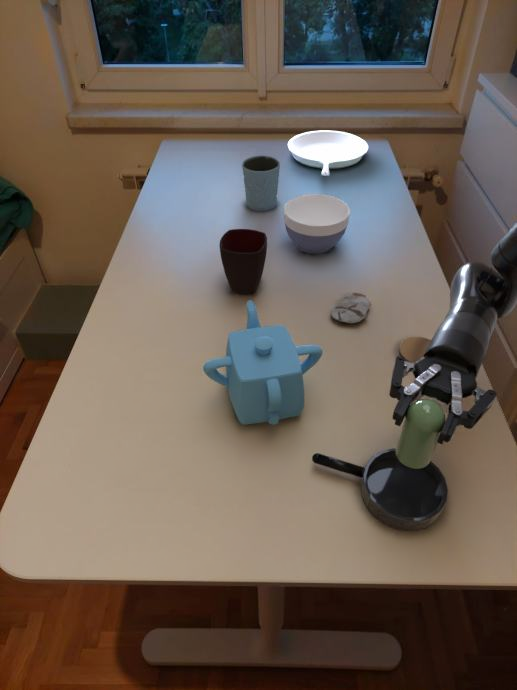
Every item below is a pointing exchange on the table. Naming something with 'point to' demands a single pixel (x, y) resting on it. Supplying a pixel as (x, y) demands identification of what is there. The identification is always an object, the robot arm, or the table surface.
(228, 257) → the cup
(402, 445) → the green capsule
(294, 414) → the teapot
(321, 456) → the pan handle
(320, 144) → the pan
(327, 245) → the bowl
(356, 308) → the stone
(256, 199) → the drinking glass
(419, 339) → the disc
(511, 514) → the table surface
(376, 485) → the steel pan
